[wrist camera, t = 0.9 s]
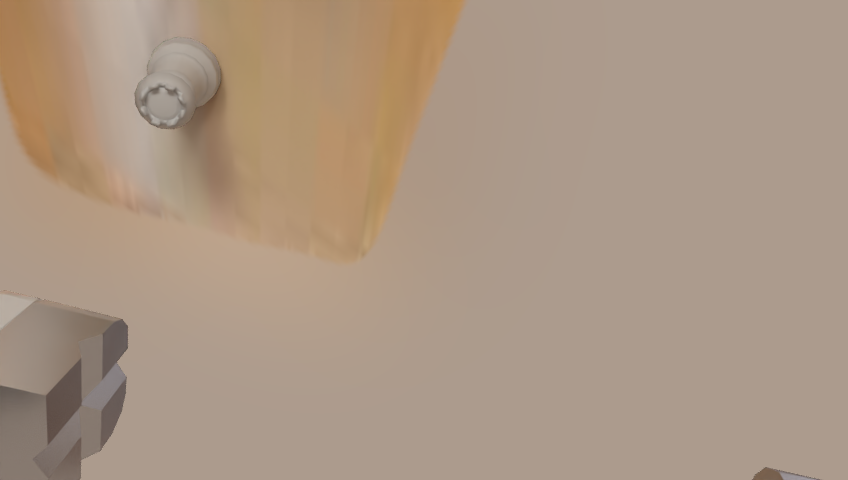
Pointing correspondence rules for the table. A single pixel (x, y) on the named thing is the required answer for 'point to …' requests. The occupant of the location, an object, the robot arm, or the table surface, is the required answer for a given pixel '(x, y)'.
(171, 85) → the rook chess piece
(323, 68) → the table surface
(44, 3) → the table surface
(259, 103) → the table surface
